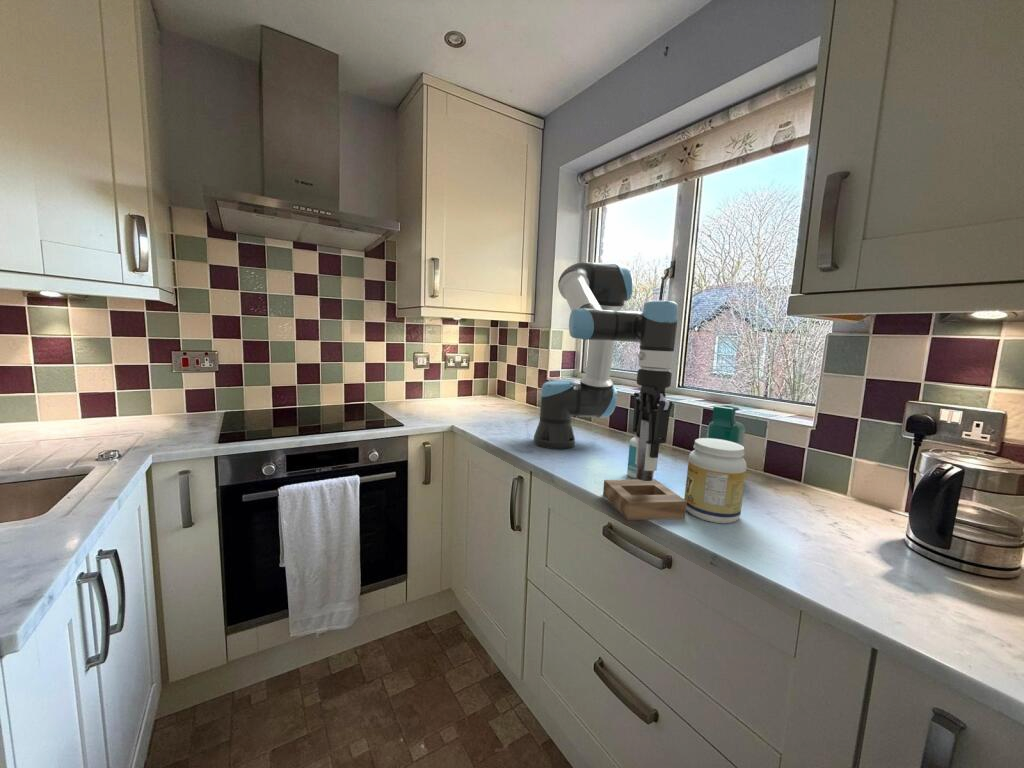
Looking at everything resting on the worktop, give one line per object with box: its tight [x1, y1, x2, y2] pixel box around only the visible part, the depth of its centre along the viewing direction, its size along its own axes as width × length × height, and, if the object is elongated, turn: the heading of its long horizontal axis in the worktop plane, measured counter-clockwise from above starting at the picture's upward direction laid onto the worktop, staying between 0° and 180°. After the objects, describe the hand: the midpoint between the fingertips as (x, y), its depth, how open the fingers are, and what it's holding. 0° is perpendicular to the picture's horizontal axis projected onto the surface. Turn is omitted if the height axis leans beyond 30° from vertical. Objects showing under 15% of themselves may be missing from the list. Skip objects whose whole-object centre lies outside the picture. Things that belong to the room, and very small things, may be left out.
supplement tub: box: [683, 437, 748, 524], centre depth 96 cm, size 12×12×17 cm
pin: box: [636, 419, 654, 481], centre depth 97 cm, size 4×4×14 cm
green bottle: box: [706, 405, 746, 447], centre depth 121 cm, size 10×8×22 cm
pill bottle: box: [626, 432, 655, 480], centre depth 120 cm, size 8×7×14 cm
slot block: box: [602, 478, 687, 521], centre depth 99 cm, size 14×14×4 cm
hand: (645, 466), depth 98 cm, fingers closed on pin, 4 cm apart
